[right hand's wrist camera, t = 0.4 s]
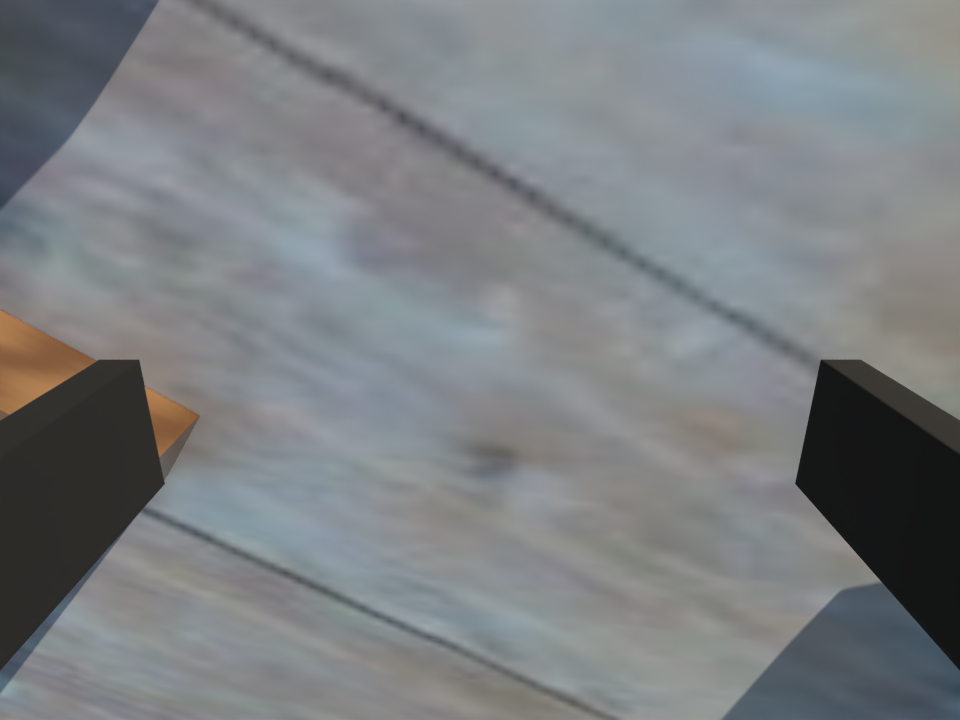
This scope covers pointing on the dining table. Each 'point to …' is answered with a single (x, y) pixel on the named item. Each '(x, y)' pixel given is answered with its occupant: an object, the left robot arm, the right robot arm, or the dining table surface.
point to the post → (48, 362)
